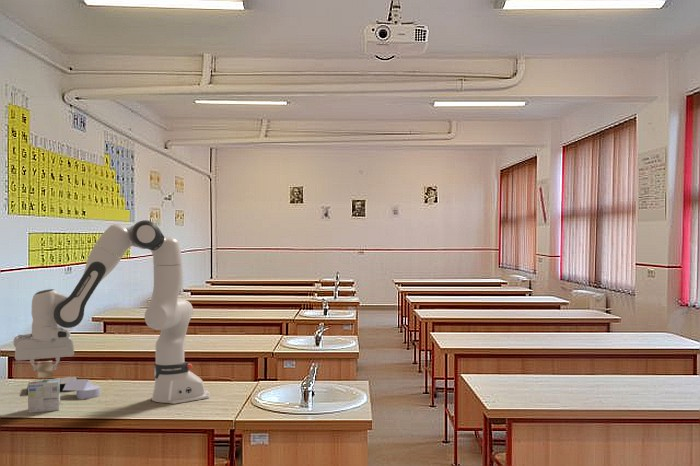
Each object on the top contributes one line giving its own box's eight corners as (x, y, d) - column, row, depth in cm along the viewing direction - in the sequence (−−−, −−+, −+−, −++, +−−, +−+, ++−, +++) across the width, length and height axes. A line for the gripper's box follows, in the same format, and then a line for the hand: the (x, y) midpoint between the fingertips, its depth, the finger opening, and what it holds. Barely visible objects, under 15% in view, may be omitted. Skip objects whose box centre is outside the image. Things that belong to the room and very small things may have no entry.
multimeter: (28, 389, 282) (28, 377, 282) (77, 384, 290) (77, 373, 290) (26, 396, 270) (26, 384, 270) (78, 391, 278) (77, 379, 278)
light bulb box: (60, 406, 253) (60, 377, 253) (59, 410, 247) (59, 381, 247) (29, 409, 249) (29, 380, 249) (27, 413, 243) (27, 384, 243)
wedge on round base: (62, 398, 264) (94, 398, 263) (62, 381, 264) (94, 382, 263) (73, 393, 273) (104, 393, 272) (73, 376, 273) (104, 377, 272)
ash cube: (52, 373, 251) (52, 360, 251) (52, 376, 247) (52, 363, 247) (37, 375, 249) (37, 361, 249) (37, 377, 245) (37, 364, 244)
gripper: (13, 336, 240) (13, 374, 241) (74, 332, 249) (74, 369, 249) (13, 334, 246) (14, 371, 246) (73, 330, 255) (74, 366, 255)
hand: (45, 370), depth 248 cm, fingers closed on ash cube, 5 cm apart
